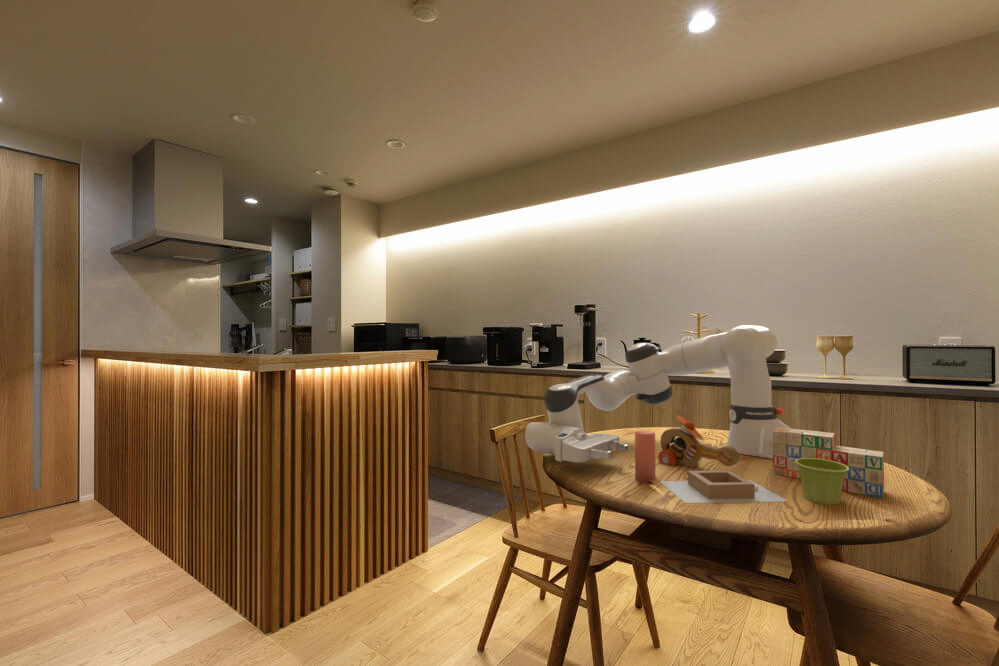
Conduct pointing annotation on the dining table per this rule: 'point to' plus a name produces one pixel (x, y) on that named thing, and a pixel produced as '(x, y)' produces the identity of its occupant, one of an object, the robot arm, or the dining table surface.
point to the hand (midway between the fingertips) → (618, 451)
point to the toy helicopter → (691, 447)
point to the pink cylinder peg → (644, 456)
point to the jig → (719, 488)
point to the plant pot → (822, 479)
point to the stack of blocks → (821, 445)
